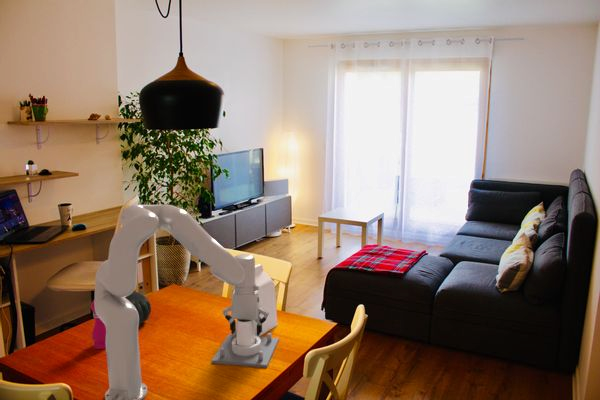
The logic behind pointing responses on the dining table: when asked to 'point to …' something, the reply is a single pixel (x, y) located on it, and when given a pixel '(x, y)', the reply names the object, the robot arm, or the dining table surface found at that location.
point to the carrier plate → (246, 359)
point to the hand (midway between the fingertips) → (246, 333)
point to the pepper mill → (98, 331)
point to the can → (245, 332)
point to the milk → (265, 299)
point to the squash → (140, 305)
